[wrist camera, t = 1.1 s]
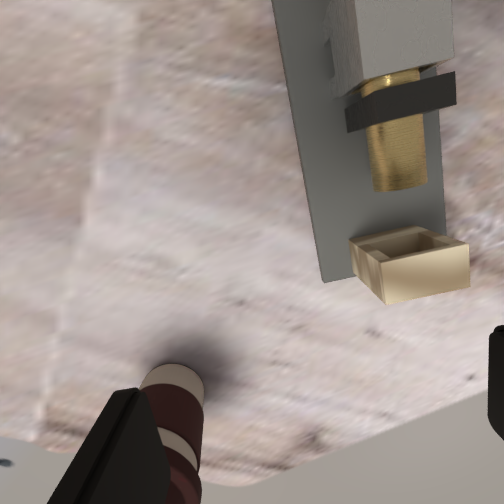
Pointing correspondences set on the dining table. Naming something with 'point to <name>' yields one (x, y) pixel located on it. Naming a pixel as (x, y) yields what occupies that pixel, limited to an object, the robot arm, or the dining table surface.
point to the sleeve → (385, 39)
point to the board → (345, 149)
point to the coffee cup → (178, 426)
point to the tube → (398, 124)
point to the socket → (410, 263)
